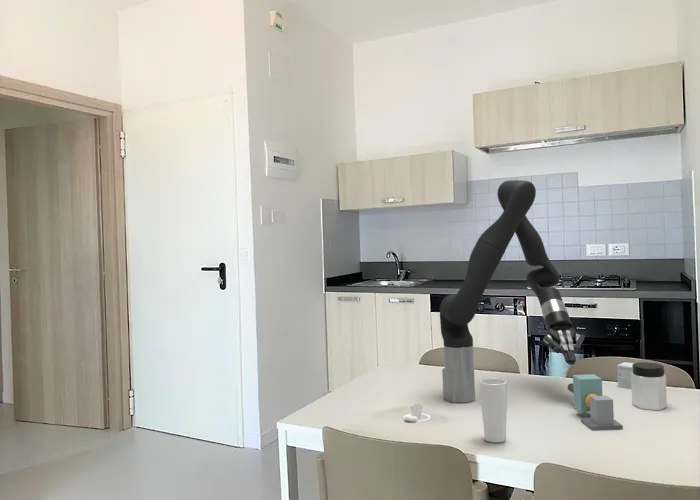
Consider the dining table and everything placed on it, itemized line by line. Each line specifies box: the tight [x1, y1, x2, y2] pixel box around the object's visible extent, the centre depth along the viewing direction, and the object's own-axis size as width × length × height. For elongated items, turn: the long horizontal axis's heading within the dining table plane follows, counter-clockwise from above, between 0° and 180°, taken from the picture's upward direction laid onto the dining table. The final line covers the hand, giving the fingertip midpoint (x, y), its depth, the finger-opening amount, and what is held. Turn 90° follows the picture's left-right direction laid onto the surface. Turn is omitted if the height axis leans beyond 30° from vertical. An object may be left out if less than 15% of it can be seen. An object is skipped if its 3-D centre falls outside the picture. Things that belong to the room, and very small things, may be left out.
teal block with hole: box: [572, 373, 603, 413], centre depth 155 cm, size 5×6×9 cm
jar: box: [631, 361, 668, 411], centre depth 162 cm, size 9×8×12 cm
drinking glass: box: [479, 377, 508, 444], centre depth 140 cm, size 7×7×15 cm
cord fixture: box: [567, 382, 624, 431], centre depth 155 cm, size 23×8×8 cm, turn 0°
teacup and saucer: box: [402, 403, 432, 423], centre depth 160 cm, size 9×8×4 cm
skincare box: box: [616, 361, 635, 390], centre depth 183 cm, size 6×6×7 cm
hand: (572, 363), depth 165 cm, fingers closed
